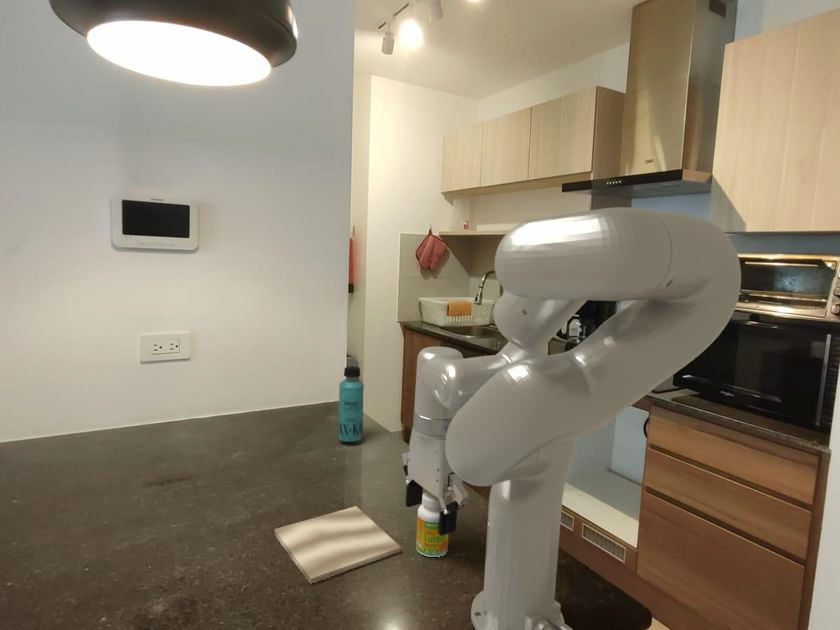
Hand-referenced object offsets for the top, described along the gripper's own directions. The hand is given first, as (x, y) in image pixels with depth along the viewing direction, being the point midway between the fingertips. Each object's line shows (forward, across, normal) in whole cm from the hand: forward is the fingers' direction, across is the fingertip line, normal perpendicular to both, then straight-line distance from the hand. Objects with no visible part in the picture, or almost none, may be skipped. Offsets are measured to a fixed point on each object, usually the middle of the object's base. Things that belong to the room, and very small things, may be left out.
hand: (429, 518), depth 88 cm
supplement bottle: (+5, -1, 0) cm, 6 cm away
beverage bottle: (+7, +49, -10) cm, 50 cm away
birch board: (+6, +9, +13) cm, 17 cm away
